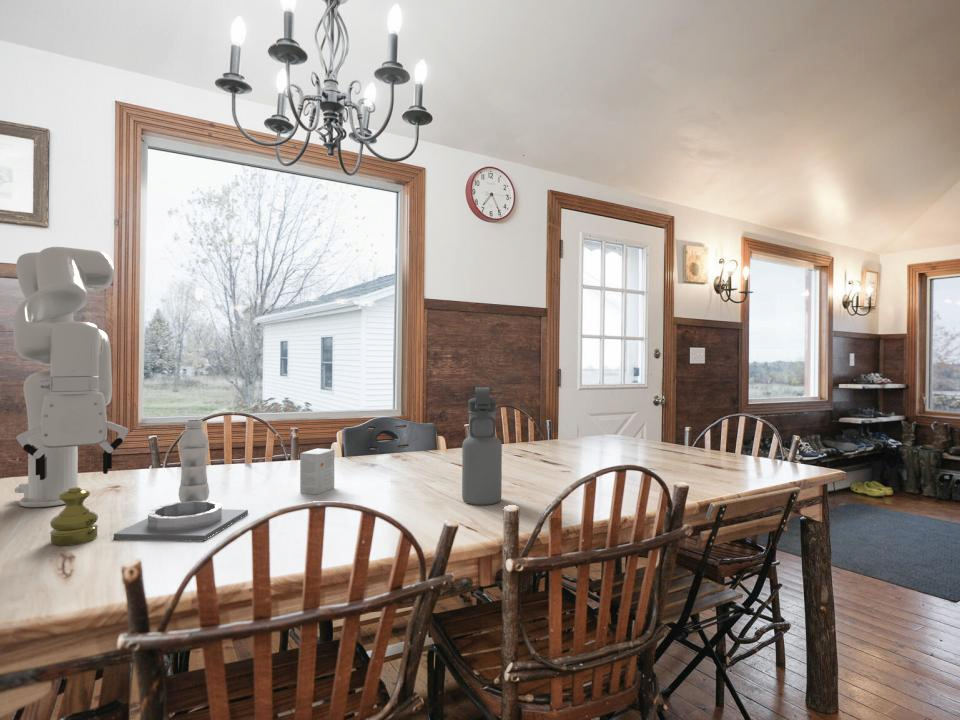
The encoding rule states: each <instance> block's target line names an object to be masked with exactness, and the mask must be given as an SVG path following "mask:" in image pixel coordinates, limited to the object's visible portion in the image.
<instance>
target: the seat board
mask: <svg viewBox="0 0 960 720" xmlns="http://www.w3.org/2000/svg"><path fill="white" fill-rule="evenodd" d="M195 514H199V513H193V514H184V515H177V516H172V517H179V516H188V515H195ZM247 514H248V515H249V509H229V508H228V509H227V508H224V509H223V508H222V519H221V520H219V521H217V522H215V523H214V524H211V525H207V526H204V527H200V528H196V529H189V530H180V531H156V530H153V529H150V528H148V518H146V519H143V520H141V521H139V522H137V523H135V524H133V525H129V526H128V527H125V528H124V529H121V530H118V531H117V532H114V533H113V540H140V541H141V540H144V541H145V540H151V541H153V540H154V541H189V540H192V541H194V540H205V539H207V538H208V537H210V536H212V535H213V534H215V533H216V532H218V531H220V530H221V531H223V530H224V529H223V528H225V527H226V528H228V527H229V526H228V525H230V524H231V523H233V522H234V523H236V522H238V521H239V520H241V519H242V518H241V517H243V516H244V517H246V516H248V515H247ZM245 515H246V516H245ZM244 517H243V518H244ZM240 518H241V519H240ZM238 519H239V520H238ZM237 520H238V521H237ZM235 521H236V522H235ZM234 523H233V524H234ZM231 525H232V524H231ZM231 525H230V526H231ZM227 526H228V527H227ZM226 528H225V529H226ZM222 529H223V530H222ZM221 531H220V532H221ZM218 533H219V532H218ZM215 535H216V534H215ZM213 536H214V535H213ZM213 536H212V537H213ZM210 538H211V537H210ZM208 539H209V538H208ZM208 539H207V540H208ZM192 541H191V542H192ZM205 541H206V540H205ZM194 542H195V541H194Z"/></svg>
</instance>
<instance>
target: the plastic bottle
mask: <svg viewBox="0 0 960 720" xmlns="http://www.w3.org/2000/svg"><path fill="white" fill-rule="evenodd" d="M184 423H185V426H184V430H185V432H184V433H183V434H182V436H181V437H180V438H179V441H178V450H179V456H180V465H181V467H180V468H181V472H180V473H181V474H180V485H179V487H178V499H179V502H186V501H208V499H209V497H210V496H209V495H210V488H209V487H210V486H209V482H208V473H207V463H208V462H207V460H208V451H209V446H210V445H209V444H210V441H209V438H208V436H207V435H206V433H205V432H204V431H203V428H204V425H203V423H204V422H203V419H186V420H185V422H184Z"/></svg>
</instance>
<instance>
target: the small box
mask: <svg viewBox="0 0 960 720" xmlns="http://www.w3.org/2000/svg"><path fill="white" fill-rule="evenodd" d="M299 456H300V458H299V463H300V464H299V467H300V471H299V472H300V473H299V475H300V477H299V479H300V481H299V482H300V483H299V484H300V486H299V487H300V488H299V491H300V494H309V495H320V494H322V493H325V492H327V491H329V490H331V489H335V449H334V448H333V449H331V448H314V449H311V450H307V451H303V452H300V453H299Z"/></svg>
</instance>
